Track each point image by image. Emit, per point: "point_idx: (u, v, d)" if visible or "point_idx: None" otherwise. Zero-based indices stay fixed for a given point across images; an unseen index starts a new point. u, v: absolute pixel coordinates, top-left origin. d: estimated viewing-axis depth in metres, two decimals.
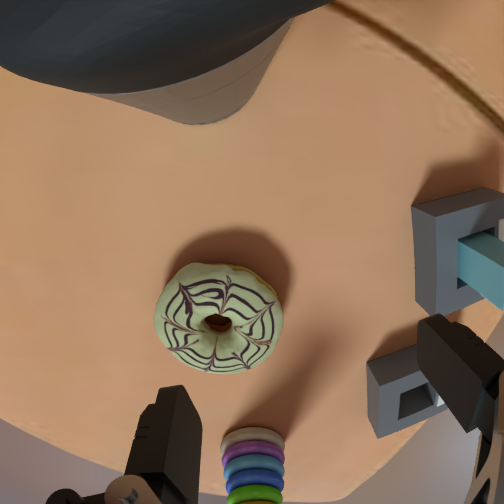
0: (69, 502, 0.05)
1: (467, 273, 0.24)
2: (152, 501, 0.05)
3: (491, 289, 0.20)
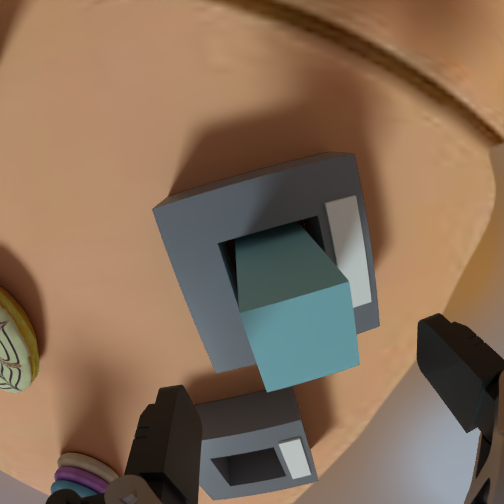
0: (69, 502, 0.05)
1: None
2: (152, 501, 0.05)
3: None
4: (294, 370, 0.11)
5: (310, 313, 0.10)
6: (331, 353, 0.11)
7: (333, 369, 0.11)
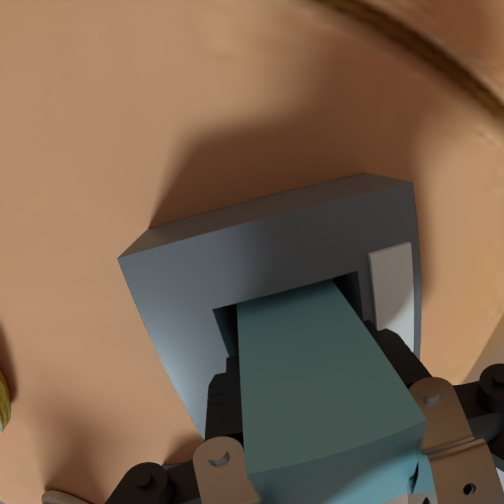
0: (152, 476, 0.06)
1: None
2: None
3: None
4: None
5: (360, 463, 0.05)
6: (376, 492, 0.06)
7: (374, 502, 0.06)
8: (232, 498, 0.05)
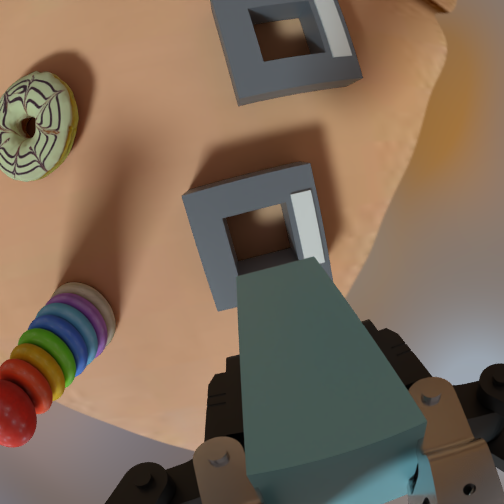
0: (152, 476, 0.06)
1: None
2: None
3: None
4: None
5: (360, 465, 0.05)
6: (376, 493, 0.06)
7: (374, 503, 0.06)
8: (232, 498, 0.05)
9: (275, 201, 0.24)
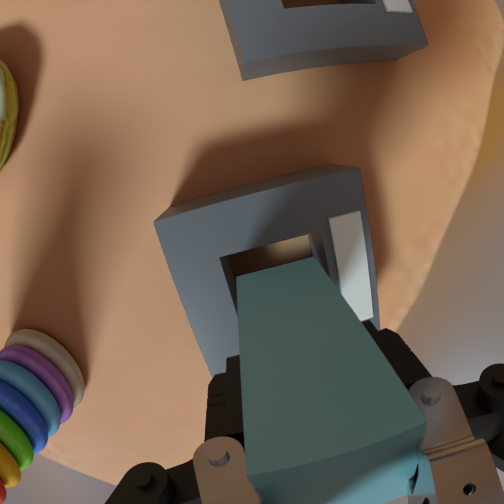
0: (152, 476, 0.06)
1: None
2: None
3: None
4: None
5: (360, 465, 0.05)
6: (376, 493, 0.06)
7: None
8: (232, 498, 0.05)
9: (304, 229, 0.15)
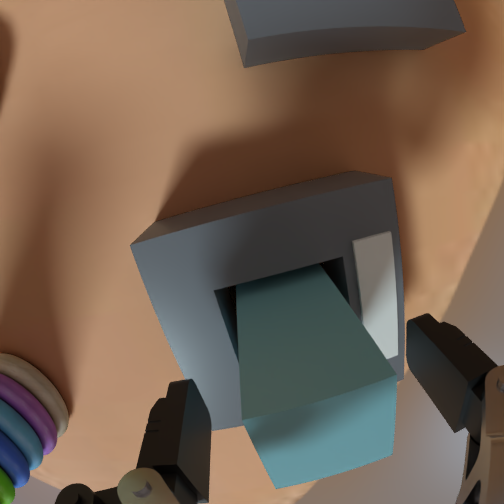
0: (81, 497, 0.05)
1: None
2: (166, 493, 0.05)
3: None
4: (311, 469, 0.07)
5: (340, 414, 0.07)
6: (360, 449, 0.07)
7: (360, 463, 0.07)
8: None
9: (322, 255, 0.12)
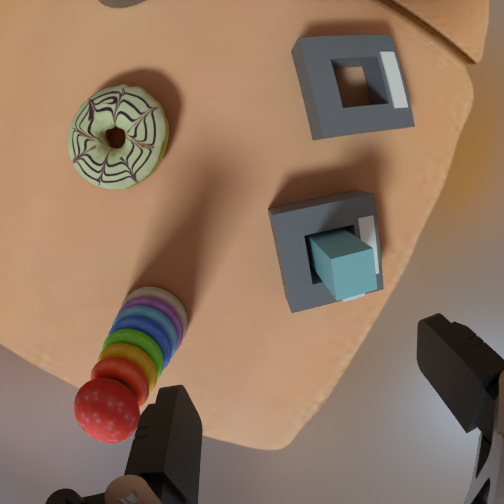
0: (69, 502, 0.05)
1: (318, 267, 0.30)
2: (152, 501, 0.05)
3: (329, 280, 0.26)
4: (349, 289, 0.25)
5: (357, 261, 0.24)
6: (365, 281, 0.25)
7: (365, 290, 0.25)
8: None
9: (346, 223, 0.29)
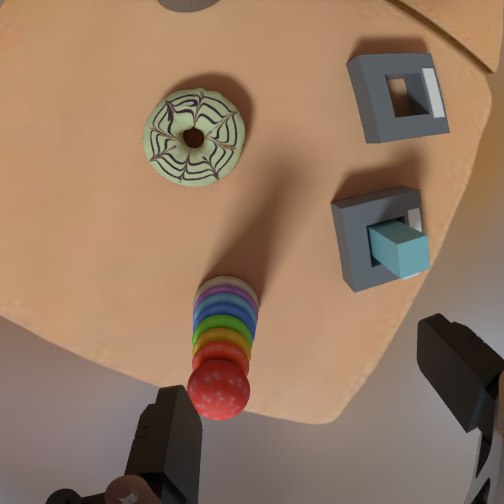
0: (69, 502, 0.05)
1: (378, 252, 0.34)
2: (152, 501, 0.05)
3: (391, 262, 0.30)
4: (409, 268, 0.29)
5: (416, 245, 0.28)
6: (421, 262, 0.29)
7: (421, 269, 0.29)
8: None
9: (398, 215, 0.33)
